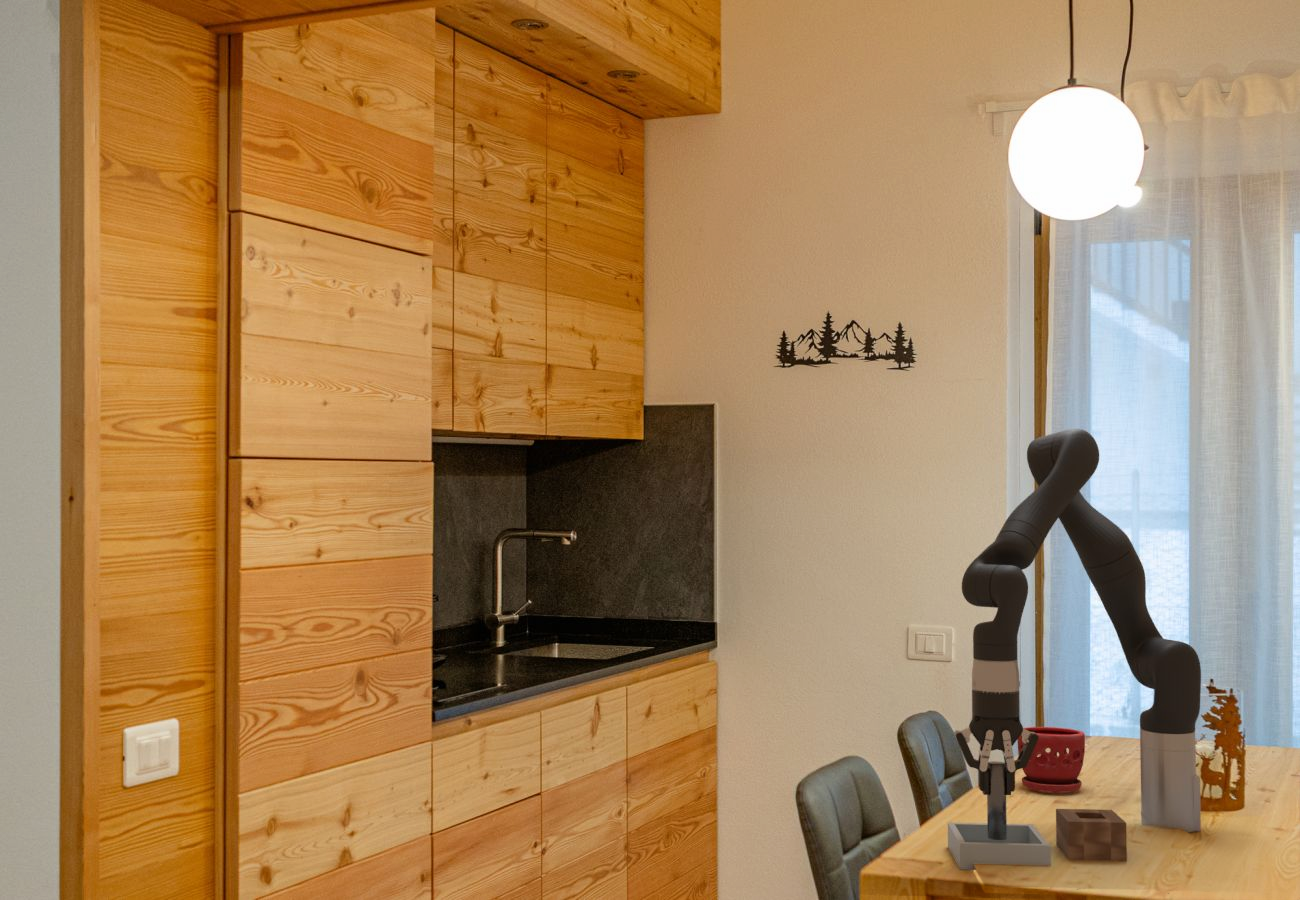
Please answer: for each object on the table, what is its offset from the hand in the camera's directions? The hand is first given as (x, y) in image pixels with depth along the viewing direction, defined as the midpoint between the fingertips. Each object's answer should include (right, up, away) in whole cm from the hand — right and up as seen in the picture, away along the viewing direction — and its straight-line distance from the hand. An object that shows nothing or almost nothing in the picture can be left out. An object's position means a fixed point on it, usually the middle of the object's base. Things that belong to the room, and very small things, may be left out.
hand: (996, 793), depth 216 cm
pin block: (+15, -10, -1) cm, 18 cm away
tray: (0, -10, 0) cm, 10 cm away
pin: (0, -7, 0) cm, 7 cm away
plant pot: (+25, -13, +52) cm, 59 cm away
